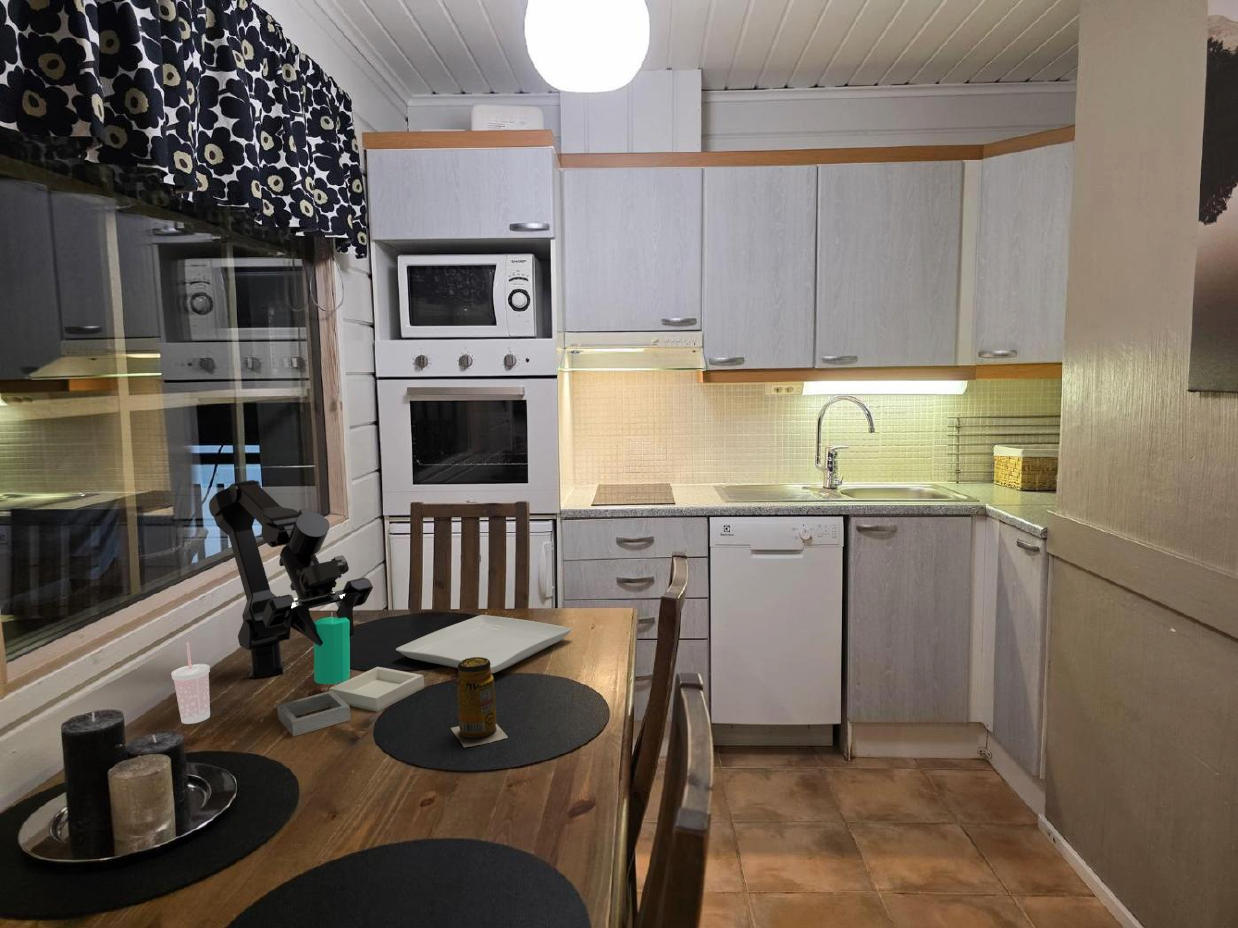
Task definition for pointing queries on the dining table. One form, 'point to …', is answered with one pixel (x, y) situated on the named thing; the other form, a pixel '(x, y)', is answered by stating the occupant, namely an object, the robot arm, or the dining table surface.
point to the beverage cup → (192, 691)
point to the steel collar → (314, 721)
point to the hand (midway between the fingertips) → (337, 640)
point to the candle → (332, 651)
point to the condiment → (476, 704)
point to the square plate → (485, 641)
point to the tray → (378, 688)
